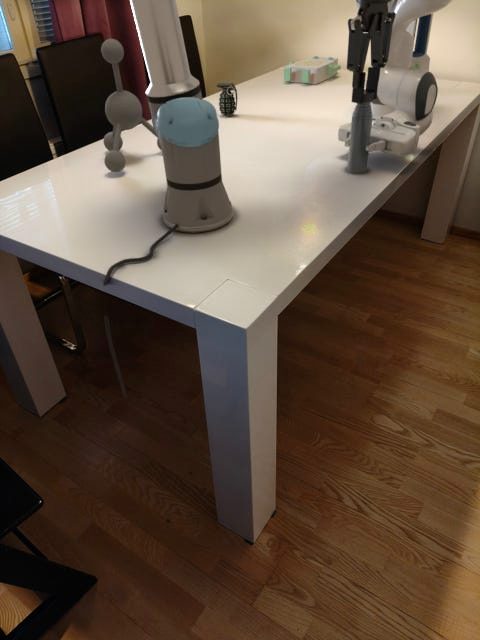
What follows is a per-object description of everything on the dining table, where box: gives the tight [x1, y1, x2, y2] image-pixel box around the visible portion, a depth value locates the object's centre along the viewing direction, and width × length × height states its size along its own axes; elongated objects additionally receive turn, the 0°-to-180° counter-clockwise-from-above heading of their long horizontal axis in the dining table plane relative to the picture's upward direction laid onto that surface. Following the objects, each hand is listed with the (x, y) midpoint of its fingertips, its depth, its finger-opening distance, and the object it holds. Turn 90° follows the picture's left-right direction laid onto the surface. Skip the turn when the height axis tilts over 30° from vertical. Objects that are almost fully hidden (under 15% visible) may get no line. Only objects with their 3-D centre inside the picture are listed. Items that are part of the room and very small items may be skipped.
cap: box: [363, 88, 375, 103], centre depth 114 cm, size 4×4×2 cm
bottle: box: [347, 102, 374, 175], centre depth 119 cm, size 5×5×18 cm
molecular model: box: [100, 38, 162, 173], centre depth 130 cm, size 24×22×30 cm
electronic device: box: [406, 13, 434, 72], centre depth 173 cm, size 12×8×30 cm, turn 105°
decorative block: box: [283, 55, 342, 85], centre depth 206 cm, size 26×6×20 cm
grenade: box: [215, 82, 238, 117], centre depth 166 cm, size 7×6×10 cm
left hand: (364, 100), depth 114 cm, fingers closed on cap, 4 cm apart
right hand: (357, 146), depth 120 cm, fingers closed on bottle, 5 cm apart
